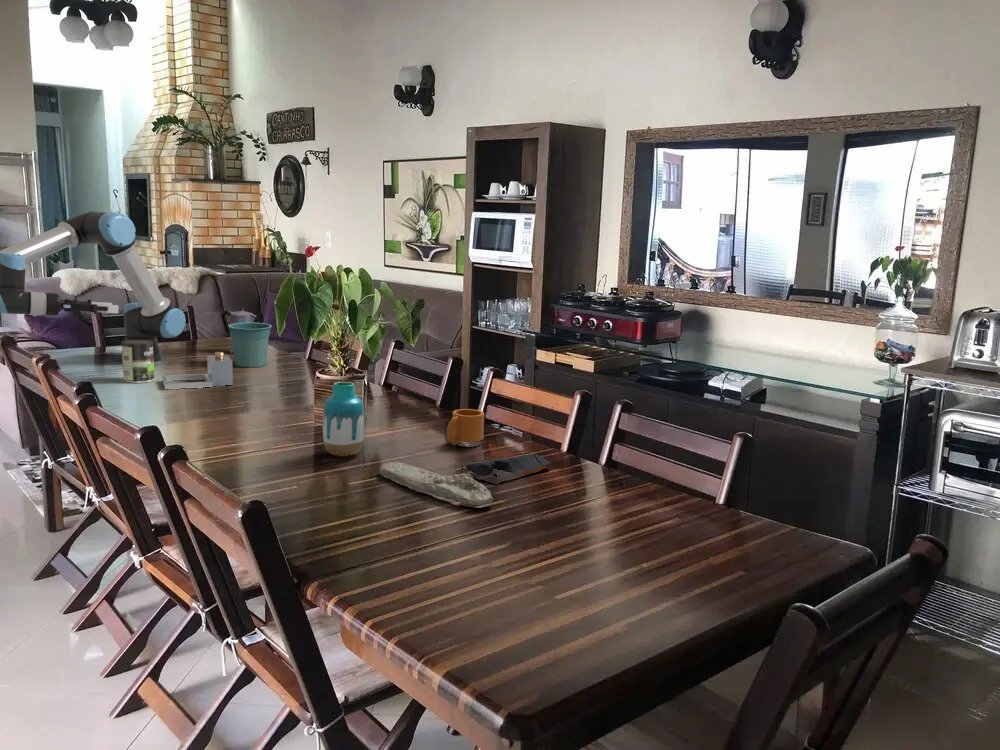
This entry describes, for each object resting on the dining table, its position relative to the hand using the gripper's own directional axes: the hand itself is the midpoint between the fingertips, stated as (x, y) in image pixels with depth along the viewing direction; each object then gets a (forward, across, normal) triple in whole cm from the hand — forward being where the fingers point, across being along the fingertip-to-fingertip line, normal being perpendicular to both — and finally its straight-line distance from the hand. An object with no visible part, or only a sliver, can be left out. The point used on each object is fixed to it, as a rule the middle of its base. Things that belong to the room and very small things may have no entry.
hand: (115, 308), depth 281 cm
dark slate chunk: (+71, +144, -28) cm, 163 cm away
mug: (+73, +118, -26) cm, 141 cm away
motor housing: (+26, +13, -25) cm, 38 cm away
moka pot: (+56, -44, -19) cm, 74 cm away
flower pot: (+53, -15, -21) cm, 59 cm away
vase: (+39, +114, -29) cm, 124 cm away
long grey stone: (+47, +148, -30) cm, 158 cm away
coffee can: (+9, -1, -26) cm, 27 cm away
